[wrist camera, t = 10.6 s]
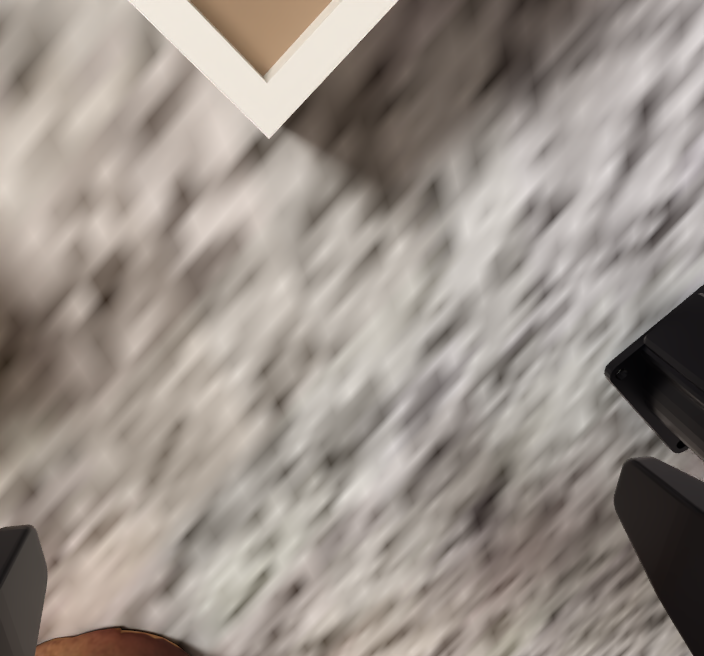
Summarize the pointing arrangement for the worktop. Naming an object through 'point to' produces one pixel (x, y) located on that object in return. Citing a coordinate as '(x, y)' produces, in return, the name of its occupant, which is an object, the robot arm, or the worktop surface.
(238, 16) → the peg box
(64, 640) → the wafer roll
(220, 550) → the worktop surface
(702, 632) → the robot arm
